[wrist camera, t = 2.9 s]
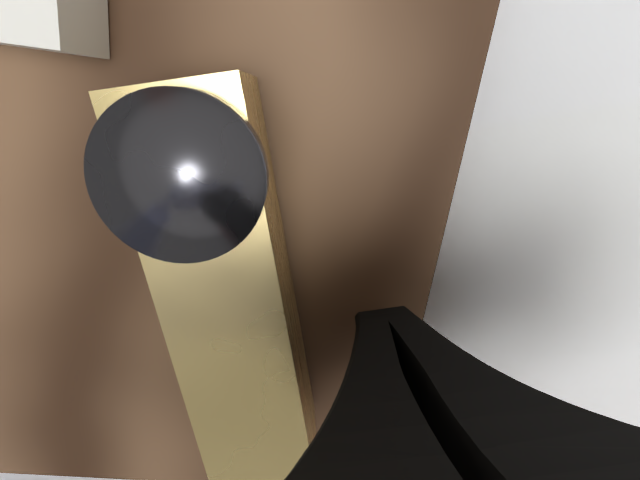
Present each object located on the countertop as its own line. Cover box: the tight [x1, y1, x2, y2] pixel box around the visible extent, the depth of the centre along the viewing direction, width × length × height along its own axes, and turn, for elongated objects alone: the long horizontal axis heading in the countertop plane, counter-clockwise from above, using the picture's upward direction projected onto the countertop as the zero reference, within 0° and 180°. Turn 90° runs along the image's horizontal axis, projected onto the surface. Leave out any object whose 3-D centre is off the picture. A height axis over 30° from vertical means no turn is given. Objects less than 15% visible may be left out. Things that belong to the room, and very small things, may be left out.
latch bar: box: [84, 70, 316, 480], centre depth 9 cm, size 10×3×4 cm, turn 8°
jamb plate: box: [0, 0, 500, 480], centre depth 11 cm, size 18×19×1 cm
